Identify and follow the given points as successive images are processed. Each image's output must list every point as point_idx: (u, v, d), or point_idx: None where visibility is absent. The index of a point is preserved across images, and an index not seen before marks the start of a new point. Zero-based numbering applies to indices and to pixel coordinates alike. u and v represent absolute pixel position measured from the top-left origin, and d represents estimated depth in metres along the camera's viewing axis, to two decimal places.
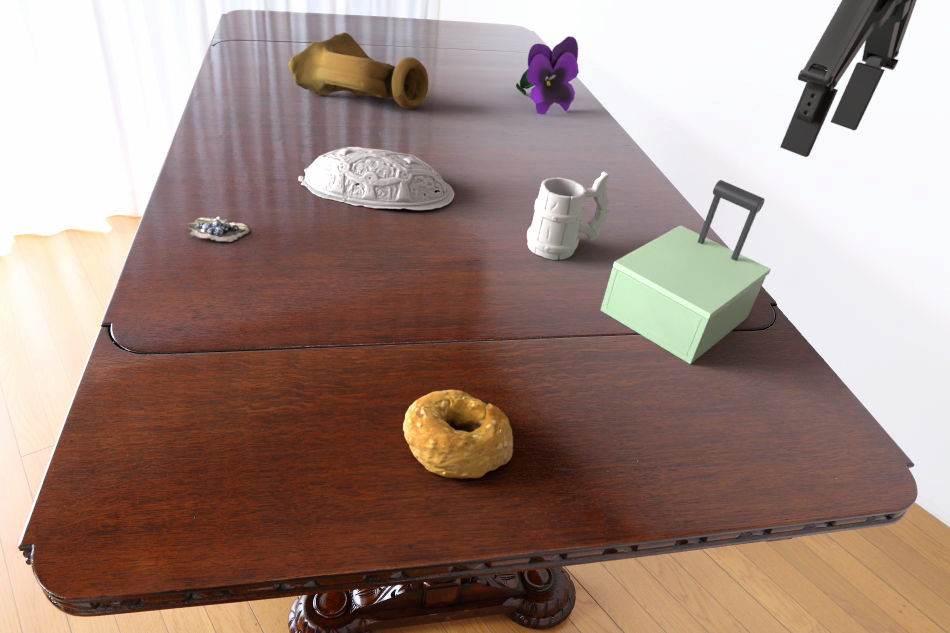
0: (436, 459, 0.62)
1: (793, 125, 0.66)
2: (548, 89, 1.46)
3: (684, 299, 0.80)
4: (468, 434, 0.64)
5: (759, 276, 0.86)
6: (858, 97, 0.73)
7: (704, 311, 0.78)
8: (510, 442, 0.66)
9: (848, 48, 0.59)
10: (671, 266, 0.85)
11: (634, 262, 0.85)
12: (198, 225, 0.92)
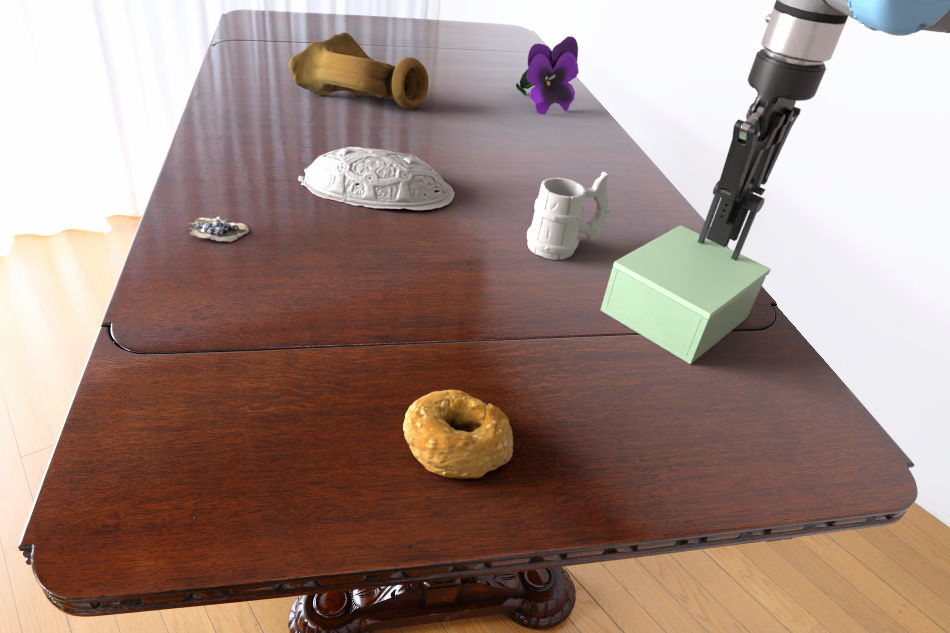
0: (436, 459, 0.62)
1: (715, 223, 0.87)
2: (548, 89, 1.46)
3: (684, 299, 0.80)
4: (468, 434, 0.64)
5: (759, 276, 0.86)
6: None
7: (704, 311, 0.78)
8: (510, 442, 0.66)
9: (743, 176, 0.79)
10: (671, 266, 0.85)
11: (634, 262, 0.85)
12: (198, 225, 0.92)
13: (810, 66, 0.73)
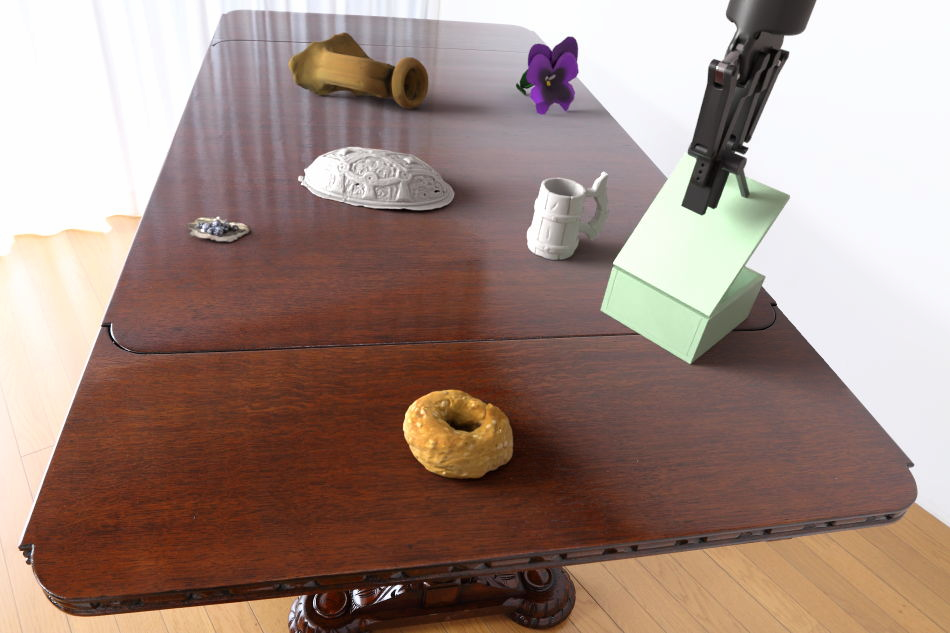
0: (436, 459, 0.62)
1: (690, 188, 0.75)
2: (548, 89, 1.46)
3: (683, 300, 0.80)
4: (468, 434, 0.64)
5: (772, 218, 0.77)
6: None
7: (703, 312, 0.78)
8: (510, 442, 0.66)
9: (721, 128, 0.68)
10: (671, 244, 0.82)
11: (632, 255, 0.84)
12: (198, 225, 0.92)
13: None
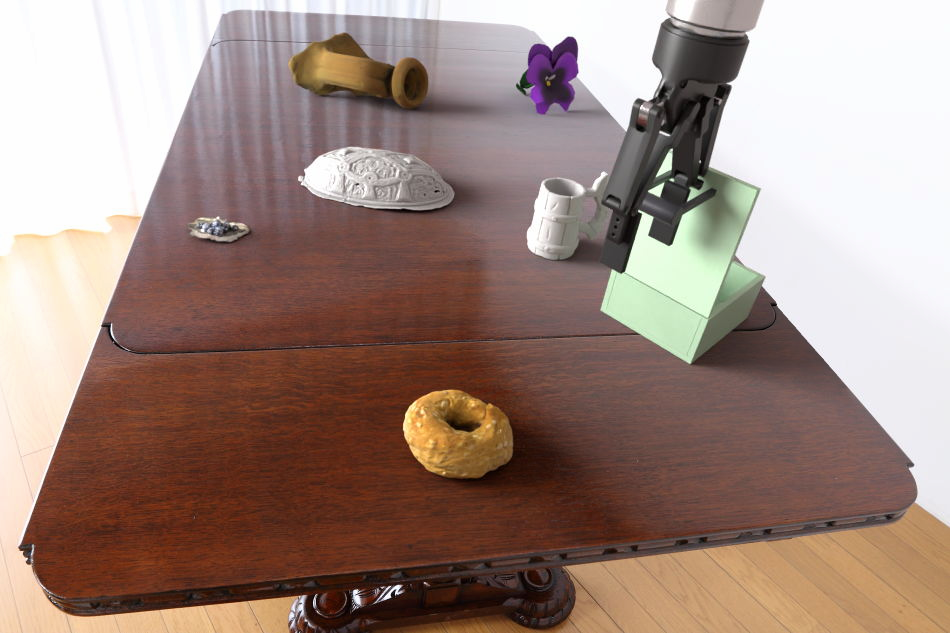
0: (436, 459, 0.62)
1: (607, 243, 0.67)
2: (548, 89, 1.46)
3: (681, 302, 0.80)
4: (468, 434, 0.64)
5: (745, 217, 0.70)
6: None
7: (702, 314, 0.78)
8: (510, 442, 0.66)
9: (638, 179, 0.60)
10: (657, 247, 0.79)
11: None
12: (198, 225, 0.92)
13: (726, 38, 0.55)
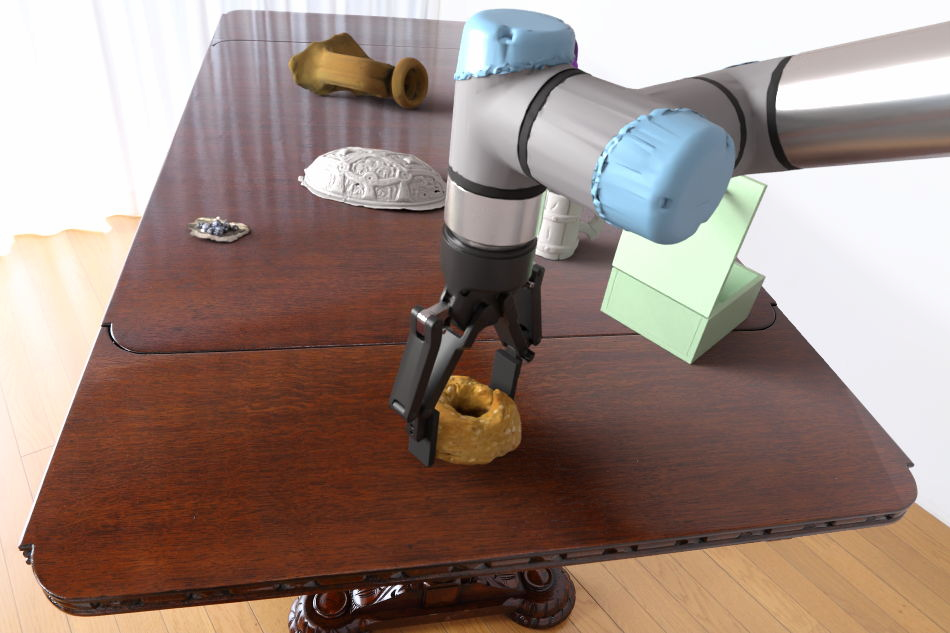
0: (442, 444, 0.60)
1: None
2: None
3: (681, 302, 0.80)
4: (475, 419, 0.62)
5: (751, 214, 0.71)
6: (503, 384, 0.67)
7: (702, 314, 0.78)
8: (518, 428, 0.64)
9: (422, 387, 0.54)
10: (659, 245, 0.79)
11: (627, 257, 0.83)
12: (198, 225, 0.92)
13: (502, 251, 0.50)
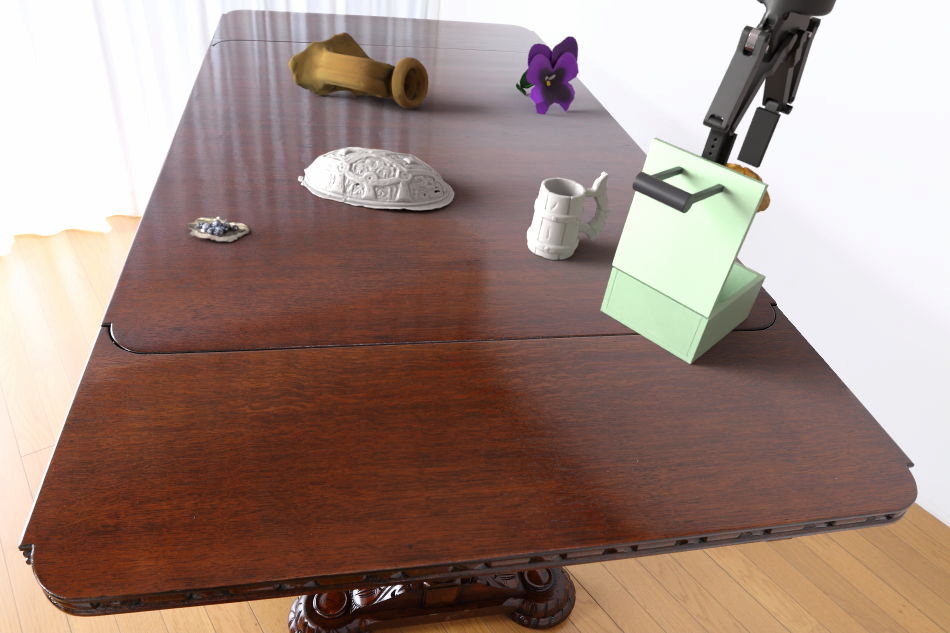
0: None
1: None
2: (548, 89, 1.46)
3: (681, 302, 0.80)
4: None
5: (752, 213, 0.71)
6: (759, 138, 0.80)
7: (702, 314, 0.78)
8: None
9: (740, 100, 0.67)
10: (660, 245, 0.79)
11: (627, 256, 0.83)
12: (198, 225, 0.92)
13: None
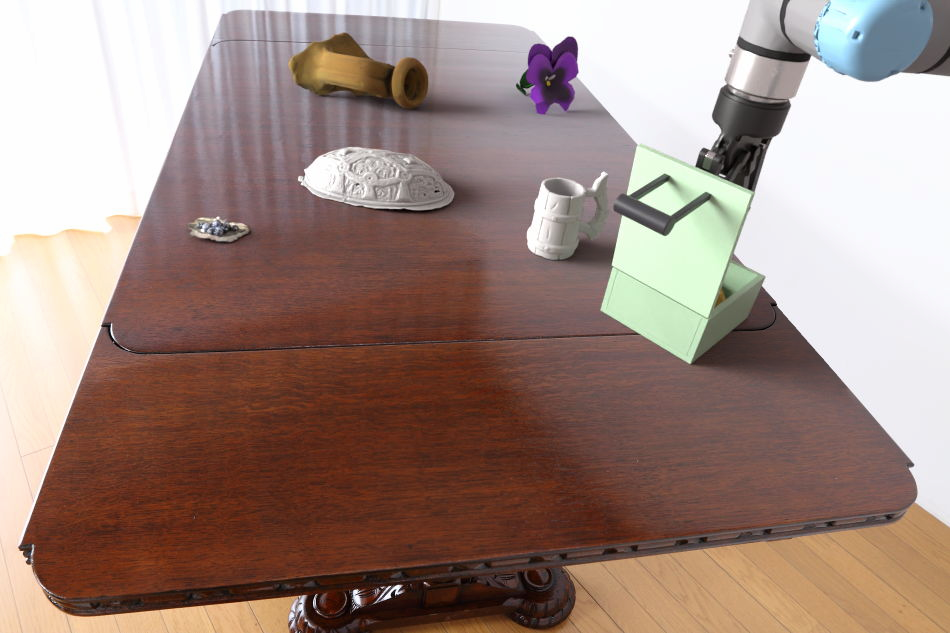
0: None
1: None
2: (548, 89, 1.46)
3: (681, 303, 0.80)
4: None
5: (740, 221, 0.69)
6: None
7: (702, 314, 0.78)
8: None
9: None
10: (655, 248, 0.79)
11: (625, 258, 0.83)
12: (198, 225, 0.92)
13: (774, 104, 0.71)
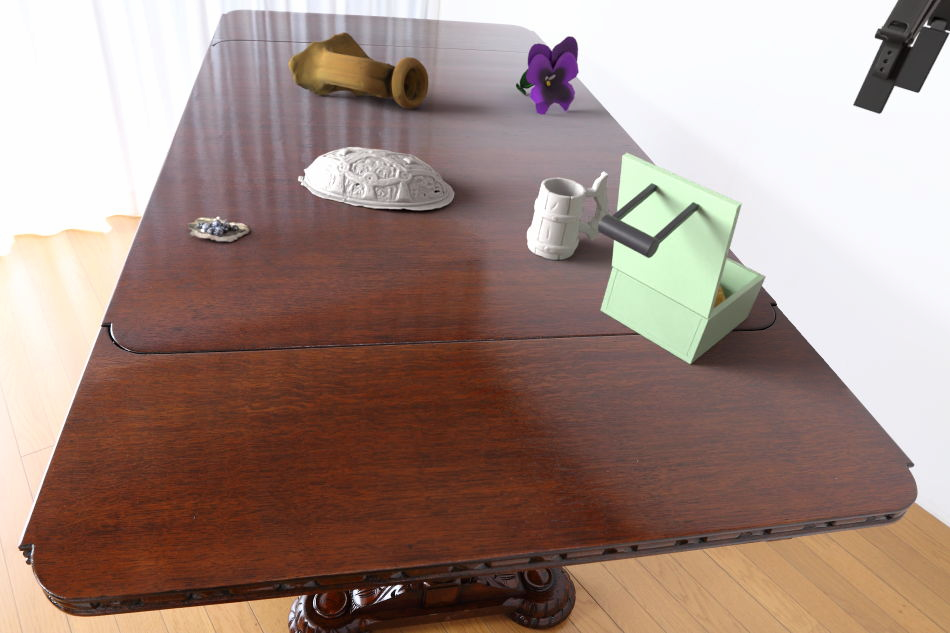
0: None
1: (867, 83, 0.69)
2: (548, 89, 1.46)
3: (681, 303, 0.80)
4: None
5: (729, 231, 0.68)
6: (922, 60, 0.76)
7: (702, 315, 0.78)
8: None
9: (927, 5, 0.62)
10: None
11: (624, 260, 0.82)
12: (198, 225, 0.92)
13: None
